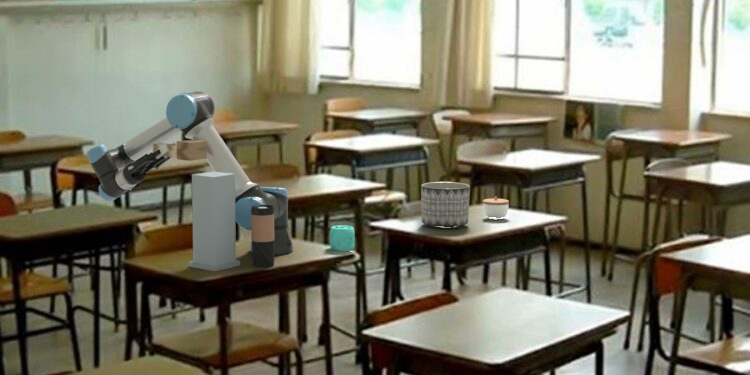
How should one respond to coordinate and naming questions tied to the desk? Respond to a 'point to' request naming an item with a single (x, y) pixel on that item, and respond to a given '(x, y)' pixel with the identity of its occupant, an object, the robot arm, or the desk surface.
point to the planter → (445, 203)
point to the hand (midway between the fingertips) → (171, 146)
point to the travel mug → (262, 235)
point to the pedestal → (214, 221)
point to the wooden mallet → (185, 149)
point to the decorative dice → (342, 238)
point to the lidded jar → (495, 207)
